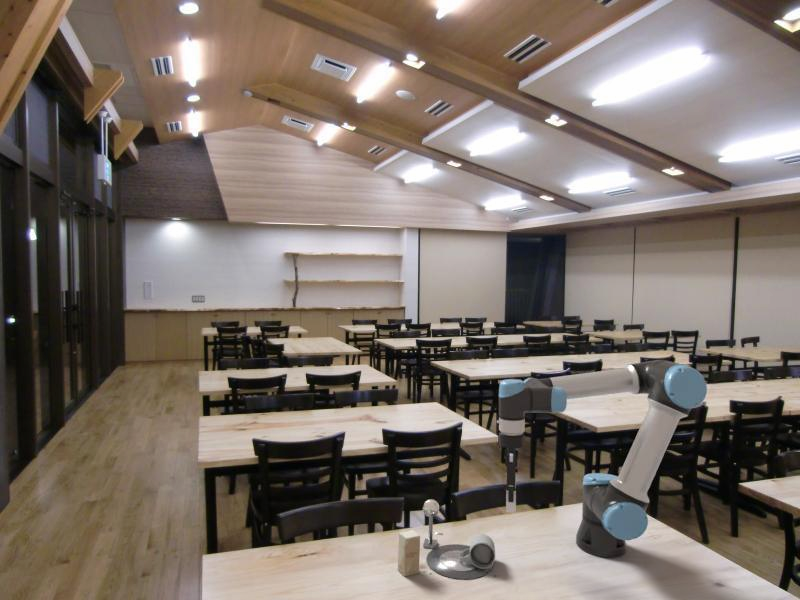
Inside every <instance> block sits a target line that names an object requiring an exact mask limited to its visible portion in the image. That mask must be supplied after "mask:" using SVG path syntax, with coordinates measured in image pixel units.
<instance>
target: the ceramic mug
mask: <svg viewBox="0 0 800 600" xmlns="http://www.w3.org/2000/svg"><path fill="white" fill-rule="evenodd" d="M469 546H470V548H468V549H466V550H464V551H462V552H461V553H460V555H459V558H460V560H461V562H470V561H471V562H472V564H473V565H474V566H476V567H477V568H480V569H486V568H489V567H491V566H492V565H493V566H494V564H495V560H496V546H495V542H494V541H493V538H492V537H490V536H489V535H487V534H485V533H479V534H477V535H476V536H474V537H473V538H472V540H471V543H470V545H469ZM468 554H469V556H466V557H464V556H465V555H468Z"/></svg>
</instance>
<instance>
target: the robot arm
mask: <svg viewBox="0 0 800 600" xmlns="http://www.w3.org/2000/svg"><path fill="white" fill-rule="evenodd" d="M707 392H708V386H707V382H706V380H705V378H704V376H703V375H702V373H700V371H698V369H696V368H693V367H692V366H690V365H687V364H683V363H678V362H674V361H671V360H666V359H656V360H648V361H643V362H638V363H637V362H635V363H631V364H630V363H629V364H627V365H626V366H625V367H624V368H615V369H607V370H601V371H594V372H593V371H592V372H585V373H583V372H582V373H576V374H571V375H570V374H568V375H562V376H561V375H560V376H553V377H548V378H547V377H545V378H536V377H529V378H526V379H524V380H521V379H513V378H511V379H510V378H509V379H503V380H501V381H500V383H499V387H498V419H497V420H496V423H497V424H498V431H499V432H498V445H499V446H500V447H502V448H505V449H504V461H505V463H504V464H505V466H504V467H505V468H506V487H505V486H503V491H505V492H506V493H505V513H510V514H516V512H517V511H516V508H517V507H516V506H517V501H516V500H517V486H516V485H517V482H516V481H517V474H518V472H519V469H518V460H519V450H516V449H521V448H523V447H524V446H525V434H524V432H525V430H526V427H525V426H526V421H525V414H526V413H533V414H534V413H538V414H539V413H540V414H541V413H543V414H556V413H557V414H559V413H563V412H565V411H566V408H567V406H568V405H567V404H568V403H567V401H568V400H575V399H581V398H589V397H597V396H605V395H606V396H607V395H615V394H621V393H631V394H632V395H640V394H641V395H643V394H645V395H647V398H646V400H647V401H648V405H649V407H648V409H647V411H646V413H645V416H644V417H643V420H642V422H641V425H640V427H639V430H638V431H637V434H636V436H635V439H634V440H633V443H632V445H631V447H630V449H629V451H628V454H627V456H626V458H625V461H624V463H623V465H622V468H621V469H620V471H619V474H618V475H614V474H610V473H601V472H600V473H599V472H592V473H587V474H585V475H584V476H583V479H582V480H583V481H582V483H581V484H582V485H581V486H582V512H581V513H582V515H581V516H582V518H581V521H580V525H579V527H578V530H577V533H576V535H575V543H576V545H577V547H578V548H580V550H582V551H583V552H586V553H589V554H591V555H594V556H597V557H601V558H617V557H621V556H624V555H625V554H626V552H627V542H626V541H632V540H635V539H638V538H640V537H641V536H642V535H644V533H645V532H646V530H647V529H648V526H649V525H648V524H649V519H648V515H647V513H646V511H647V508H648V506H649V504H650V498H649V496H648V492H649V489H650V487H651V485H652V482H653V480H654V478H655V476H656V473H657V471H658V469H659V466H660V464H661V462H662V460H663V458H664V455H665V453H666V450H667V449H668V447H669V444H670V443H671V439H672V437H673V435H674V433H675V431H676V429H677V427H678V424H679V422H680V420H681V419H684V418H687V417H689V414H690V412H691V410H692V409H693V408H696V407H698V406H699V405H702V403H703V402H704V400H705V398H706V396H707ZM506 448H507V449H506Z"/></svg>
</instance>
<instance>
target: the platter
mask: <svg viewBox="0 0 800 600" xmlns="http://www.w3.org/2000/svg"><path fill="white" fill-rule="evenodd" d="M470 546H471V545H467V544H456V543H455V544H451V543H450V544H444V545H440V546H436V548H435V549H433V548H432V549H431V550H430V551H429V552H428V554H427V555H426V564H427V566H428V567H429V568H430V569H431V570H432V571H433V572H434V573H436V574H438V575H440V576H443V577H445V578H449V579H454V580H474V579H479V578H482V577H484V576H487V574H489V573H490V572H491V571H492V569H493V566H494V564H493V565H492V566H491V567H489V568H486V569H480V568H477V567H476V566H474V565H473V564H472V562H471V561H470V562H461V560H460V558H459V555H460V553H461V552H462V551H464V550H466V549H468V548H470ZM466 556H469V554H468V555H465V556H464V557H466Z"/></svg>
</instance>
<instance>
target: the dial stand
mask: <svg viewBox="0 0 800 600" xmlns="http://www.w3.org/2000/svg"><path fill="white" fill-rule="evenodd" d="M422 511H423V514H424V515H425V516H426V517H428V538H425V539H424V541H423V545H422V547H423V548H425V549H432V550H433V549H435V548H437V547H438V546H437V545H438V539H433V535H437V536H438V535H439V536H444V533H443V532H435V531H433V529H434V528H433V527H434V526H433V525H434V522H433V521H434V518H435V517H437V515H438V514H439V511H440V505H439V502H438V501H436V500H435V499H427V500H426V501H424V504H423V507H422Z"/></svg>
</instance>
